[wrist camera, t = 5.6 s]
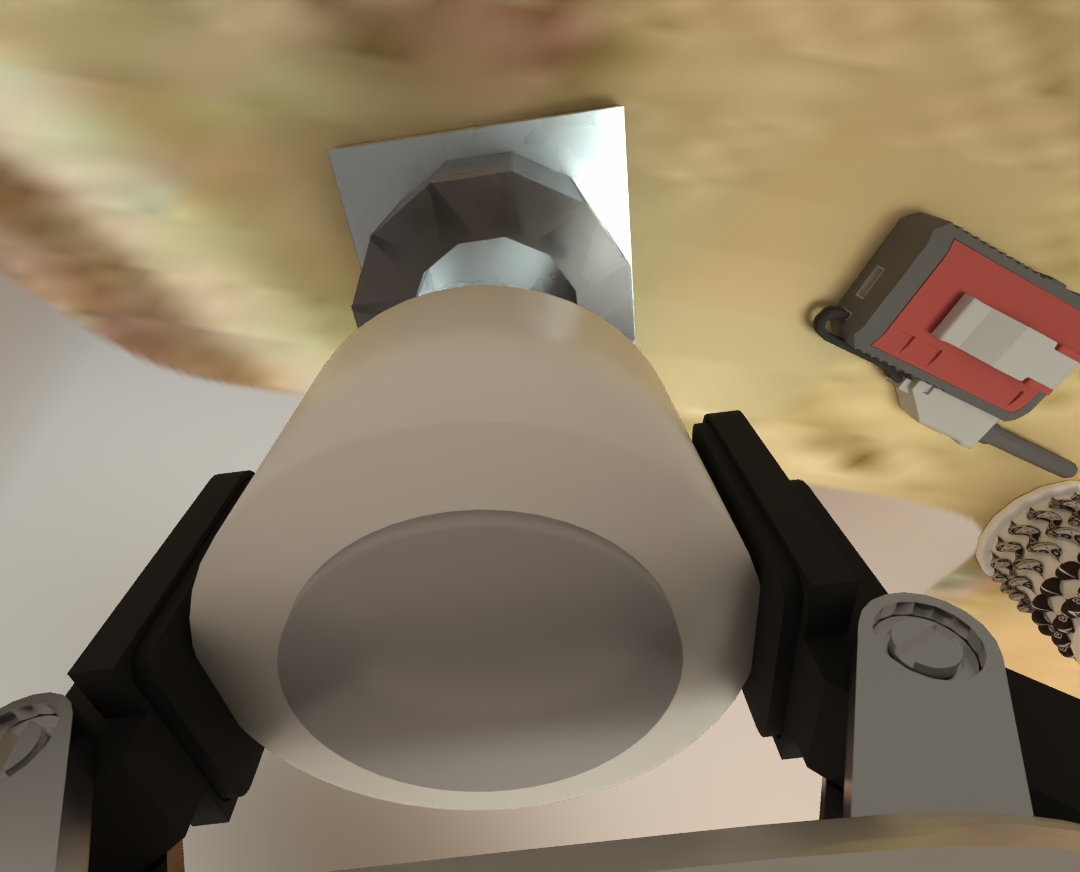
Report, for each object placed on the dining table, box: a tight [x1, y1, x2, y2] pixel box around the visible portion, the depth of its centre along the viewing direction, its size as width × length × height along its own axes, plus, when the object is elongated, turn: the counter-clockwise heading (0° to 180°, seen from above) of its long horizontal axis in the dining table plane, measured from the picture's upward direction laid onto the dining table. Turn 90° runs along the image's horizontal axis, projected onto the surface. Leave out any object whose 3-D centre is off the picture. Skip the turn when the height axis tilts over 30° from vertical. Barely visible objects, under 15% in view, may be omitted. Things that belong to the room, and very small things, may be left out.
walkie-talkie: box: [813, 212, 1080, 478], centre depth 30 cm, size 9×4×20 cm
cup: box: [189, 285, 760, 810], centre depth 11 cm, size 7×7×8 cm
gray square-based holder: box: [327, 105, 636, 345], centre depth 25 cm, size 12×12×8 cm
